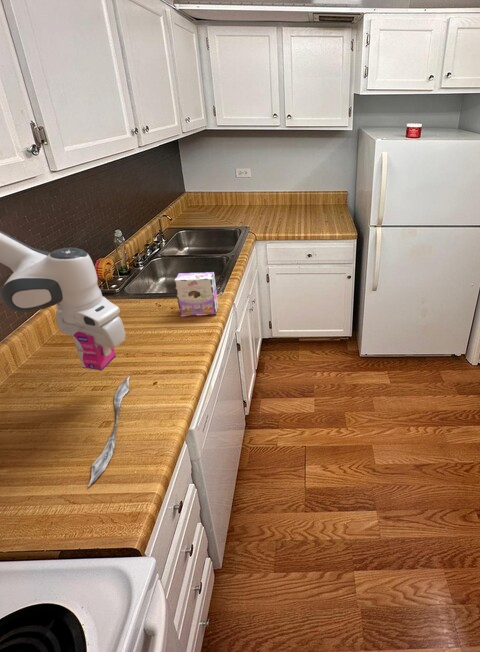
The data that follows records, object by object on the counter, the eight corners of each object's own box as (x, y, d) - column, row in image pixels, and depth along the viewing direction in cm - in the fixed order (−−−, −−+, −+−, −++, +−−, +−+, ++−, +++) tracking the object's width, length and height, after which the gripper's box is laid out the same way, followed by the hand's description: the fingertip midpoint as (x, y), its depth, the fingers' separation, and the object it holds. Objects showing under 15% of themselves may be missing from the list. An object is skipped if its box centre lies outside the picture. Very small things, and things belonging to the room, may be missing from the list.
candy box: (219, 307, 135) (214, 271, 129) (216, 315, 129) (211, 278, 123) (184, 308, 133) (178, 272, 128) (179, 317, 128) (173, 280, 122)
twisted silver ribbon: (85, 489, 71) (111, 480, 73) (85, 487, 71) (111, 479, 73) (114, 379, 99) (132, 375, 101) (114, 377, 99) (132, 373, 101)
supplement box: (82, 369, 89) (71, 334, 85) (98, 353, 95) (89, 320, 90) (101, 371, 88) (91, 337, 84) (117, 356, 94) (108, 322, 90)
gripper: (43, 306, 85) (57, 349, 90) (102, 323, 79) (114, 368, 84) (67, 293, 91) (80, 334, 96) (124, 308, 85) (134, 352, 90)
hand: (96, 350), depth 90 cm, fingers closed on supplement box, 6 cm apart
